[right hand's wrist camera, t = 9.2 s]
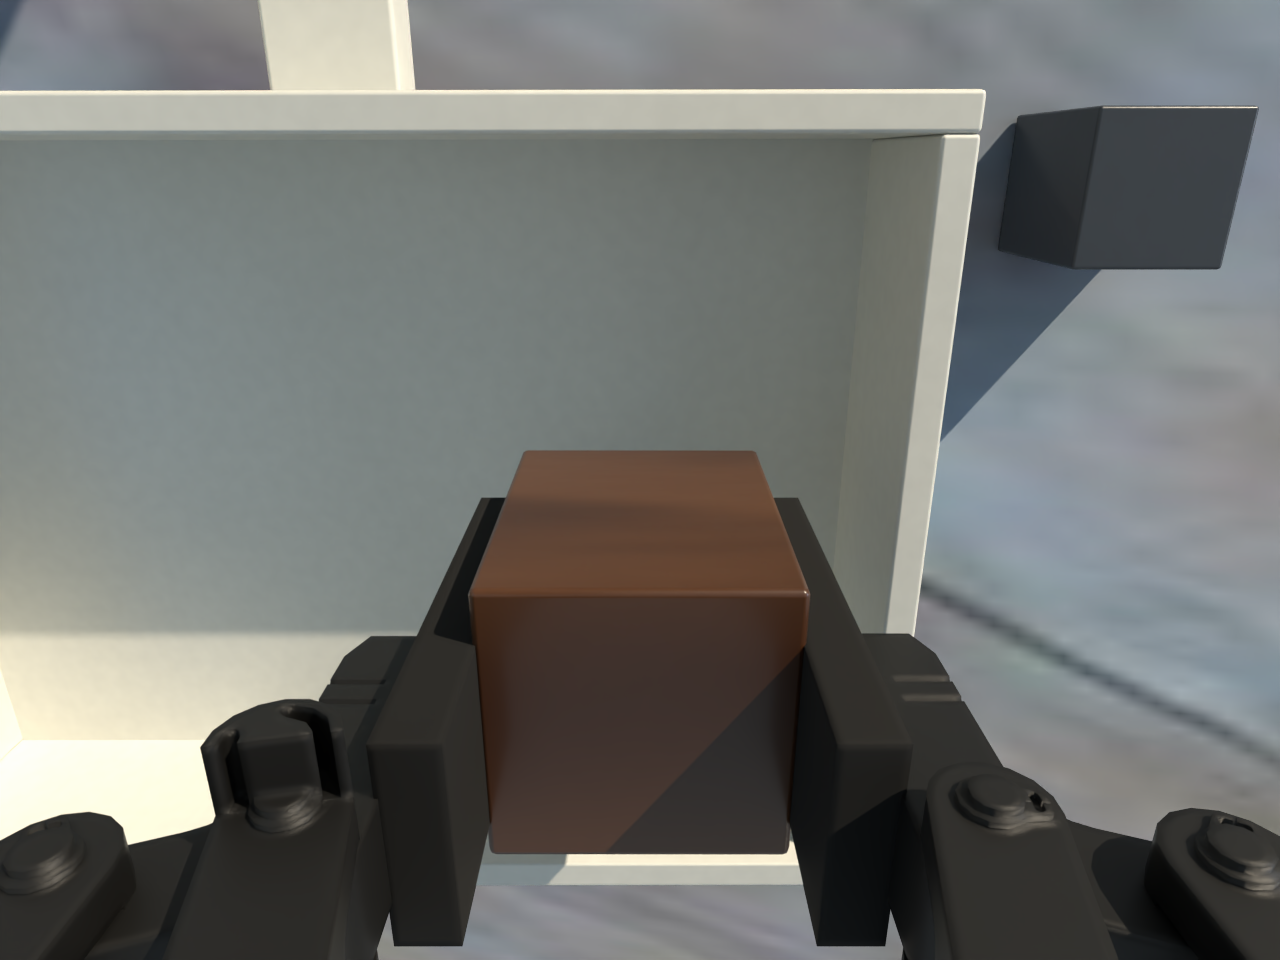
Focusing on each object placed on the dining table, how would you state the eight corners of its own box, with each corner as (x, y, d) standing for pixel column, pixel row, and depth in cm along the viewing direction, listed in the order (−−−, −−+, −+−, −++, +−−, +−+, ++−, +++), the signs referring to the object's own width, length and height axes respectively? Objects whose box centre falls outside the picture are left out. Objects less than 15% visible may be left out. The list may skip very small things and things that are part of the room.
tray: (834, 743, 22) (934, 1045, 14) (22, 744, 22) (-296, 1047, 14) (986, -791, 12) (1535, -2290, 5) (-474, -787, 12) (-2229, -2271, 5)
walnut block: (745, 649, 16) (790, 858, 11) (533, 649, 16) (488, 858, 11) (757, 448, 14) (812, 591, 10) (522, 448, 14) (465, 590, 10)
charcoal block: (1121, 250, 27) (1221, 270, 22) (997, 250, 27) (1071, 269, 22) (1147, 115, 26) (1261, 105, 21) (1016, 115, 26) (1100, 105, 21)
